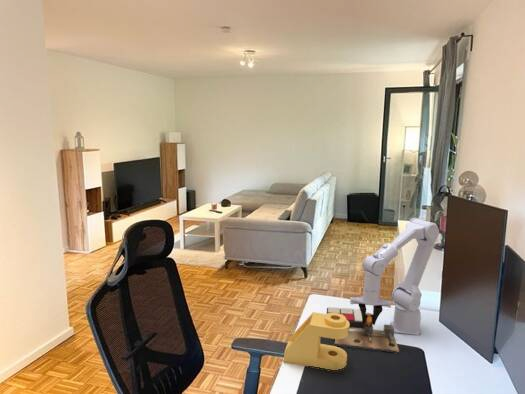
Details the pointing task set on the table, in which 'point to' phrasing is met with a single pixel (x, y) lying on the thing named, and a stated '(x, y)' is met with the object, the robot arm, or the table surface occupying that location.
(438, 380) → the table surface
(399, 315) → the robot arm
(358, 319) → the button panel
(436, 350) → the table surface
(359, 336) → the board
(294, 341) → the yellow clevis bracket
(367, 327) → the slider leg
